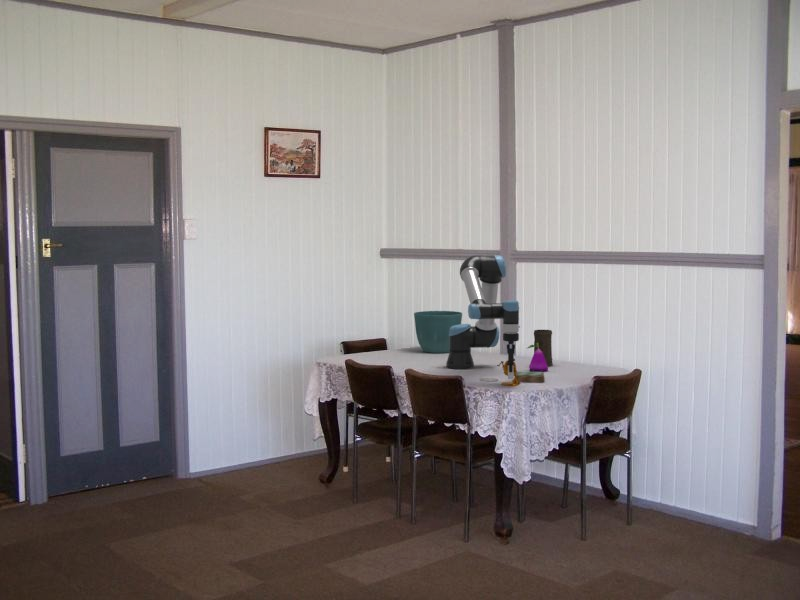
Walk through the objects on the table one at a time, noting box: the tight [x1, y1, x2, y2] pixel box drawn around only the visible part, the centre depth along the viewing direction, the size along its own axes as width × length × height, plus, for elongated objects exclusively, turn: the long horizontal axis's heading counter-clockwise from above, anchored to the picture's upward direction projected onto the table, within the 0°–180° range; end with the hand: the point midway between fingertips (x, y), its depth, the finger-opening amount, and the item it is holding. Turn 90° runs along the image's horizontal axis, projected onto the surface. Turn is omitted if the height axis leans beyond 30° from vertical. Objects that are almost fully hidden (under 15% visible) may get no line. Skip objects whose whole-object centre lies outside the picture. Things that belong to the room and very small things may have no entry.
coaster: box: [479, 377, 499, 383], centre depth 445 cm, size 9×9×1 cm
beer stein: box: [533, 329, 554, 368], centre depth 496 cm, size 15×11×20 cm
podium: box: [516, 371, 545, 384], centre depth 445 cm, size 14×14×3 cm
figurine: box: [497, 359, 521, 387], centre depth 432 cm, size 8×11×12 cm
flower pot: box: [413, 310, 463, 354], centre depth 558 cm, size 30×30×24 cm
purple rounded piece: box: [526, 343, 549, 372], centre depth 475 cm, size 11×11×15 cm
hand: (510, 376), depth 432 cm, fingers open, 13 cm apart
